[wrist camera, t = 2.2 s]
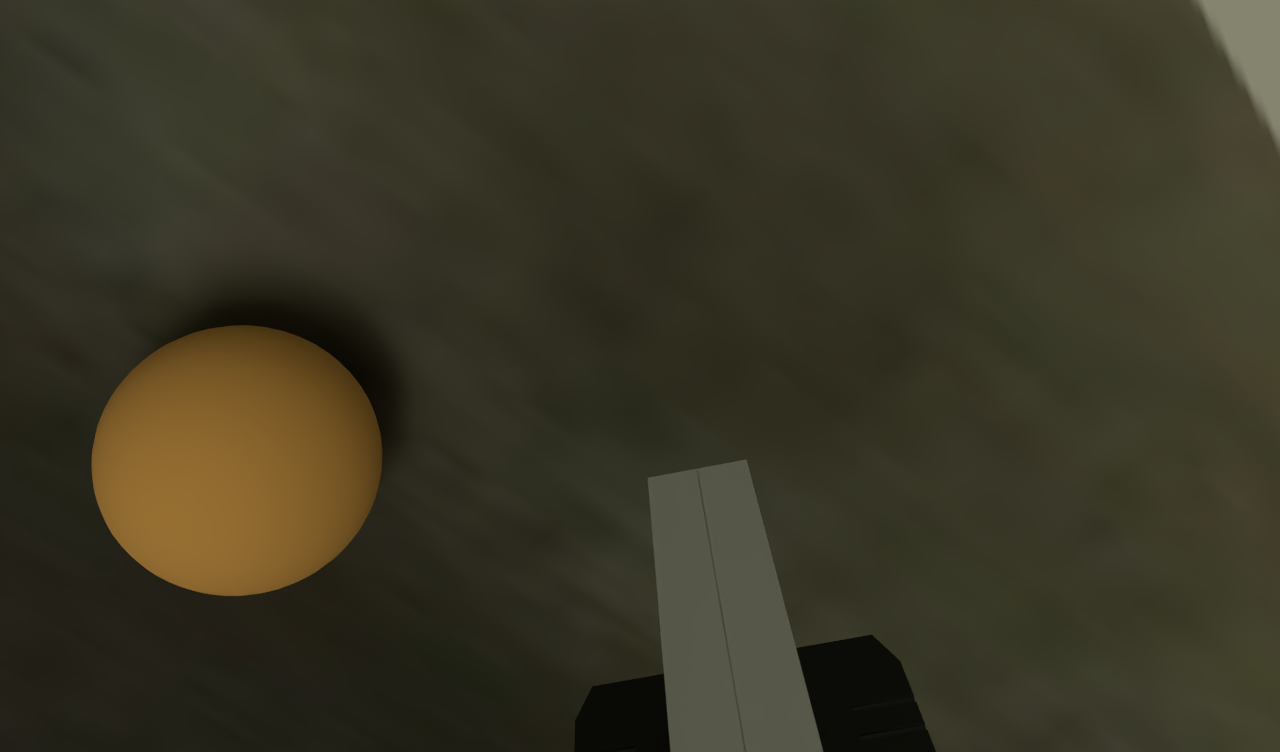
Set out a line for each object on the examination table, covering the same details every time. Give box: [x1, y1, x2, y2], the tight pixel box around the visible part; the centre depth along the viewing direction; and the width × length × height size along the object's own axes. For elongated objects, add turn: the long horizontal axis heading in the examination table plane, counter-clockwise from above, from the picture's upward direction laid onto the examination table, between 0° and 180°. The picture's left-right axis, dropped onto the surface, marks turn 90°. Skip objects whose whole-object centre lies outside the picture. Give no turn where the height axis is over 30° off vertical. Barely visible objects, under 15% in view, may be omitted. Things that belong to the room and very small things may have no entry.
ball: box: [92, 325, 382, 596], centre depth 22 cm, size 6×6×6 cm
